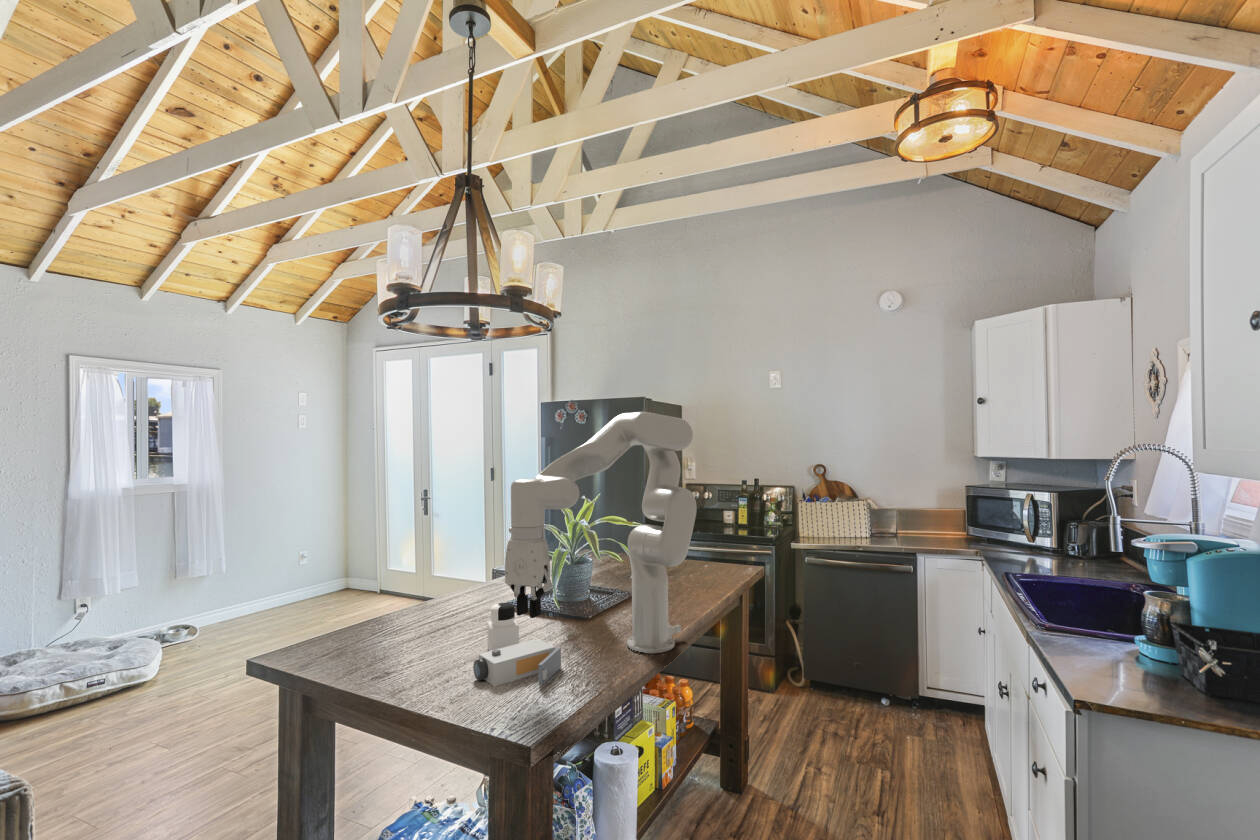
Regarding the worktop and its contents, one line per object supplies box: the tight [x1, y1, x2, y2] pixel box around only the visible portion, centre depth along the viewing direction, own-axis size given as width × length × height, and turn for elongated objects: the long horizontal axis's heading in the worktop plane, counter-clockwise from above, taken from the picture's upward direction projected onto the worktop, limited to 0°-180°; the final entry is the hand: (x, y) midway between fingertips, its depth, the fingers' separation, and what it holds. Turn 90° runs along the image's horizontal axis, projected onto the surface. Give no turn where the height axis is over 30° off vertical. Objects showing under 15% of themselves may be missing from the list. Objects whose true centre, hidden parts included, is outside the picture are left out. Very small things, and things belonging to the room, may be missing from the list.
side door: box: [537, 646, 562, 687], centre depth 136 cm, size 12×1×5 cm, turn 165°
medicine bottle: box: [486, 602, 520, 651], centre depth 154 cm, size 7×7×12 cm
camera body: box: [472, 638, 556, 687], centre depth 139 cm, size 18×8×6 cm, turn 130°
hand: (528, 614), depth 133 cm, fingers open, 3 cm apart
